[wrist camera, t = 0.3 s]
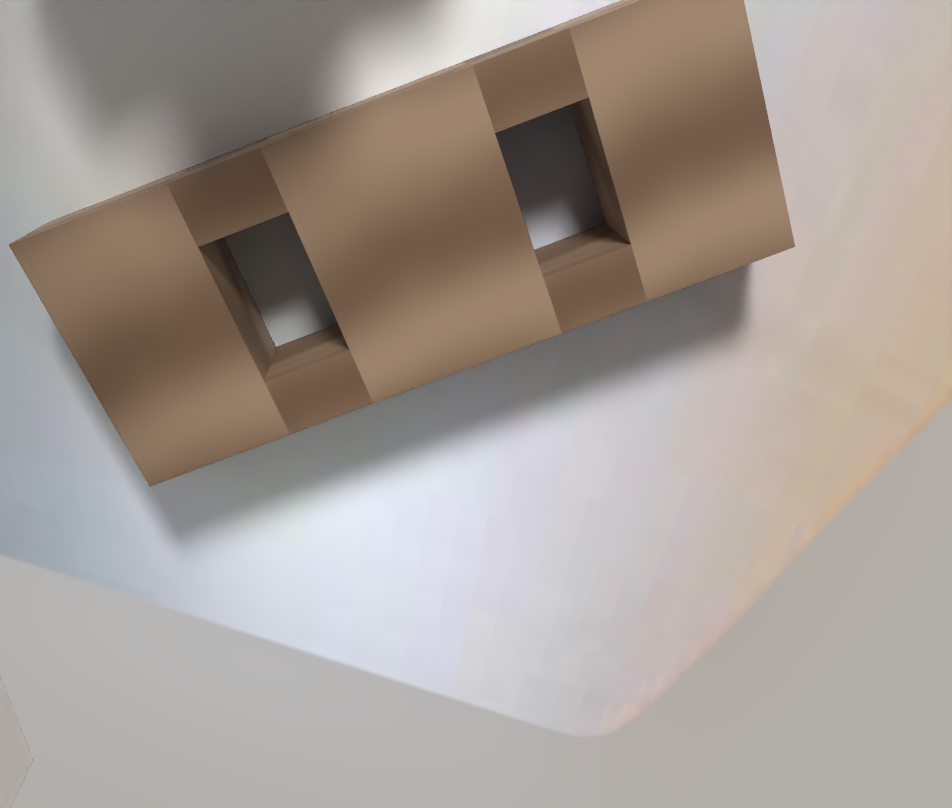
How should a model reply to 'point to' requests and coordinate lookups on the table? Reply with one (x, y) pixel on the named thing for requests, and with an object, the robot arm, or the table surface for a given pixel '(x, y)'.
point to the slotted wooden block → (418, 232)
